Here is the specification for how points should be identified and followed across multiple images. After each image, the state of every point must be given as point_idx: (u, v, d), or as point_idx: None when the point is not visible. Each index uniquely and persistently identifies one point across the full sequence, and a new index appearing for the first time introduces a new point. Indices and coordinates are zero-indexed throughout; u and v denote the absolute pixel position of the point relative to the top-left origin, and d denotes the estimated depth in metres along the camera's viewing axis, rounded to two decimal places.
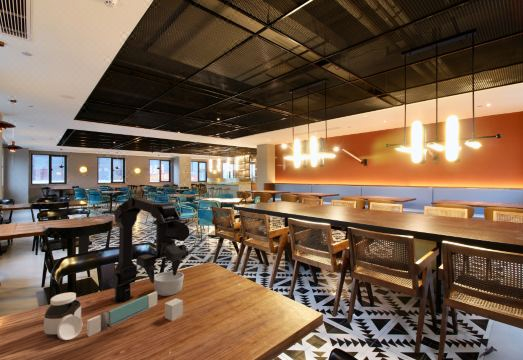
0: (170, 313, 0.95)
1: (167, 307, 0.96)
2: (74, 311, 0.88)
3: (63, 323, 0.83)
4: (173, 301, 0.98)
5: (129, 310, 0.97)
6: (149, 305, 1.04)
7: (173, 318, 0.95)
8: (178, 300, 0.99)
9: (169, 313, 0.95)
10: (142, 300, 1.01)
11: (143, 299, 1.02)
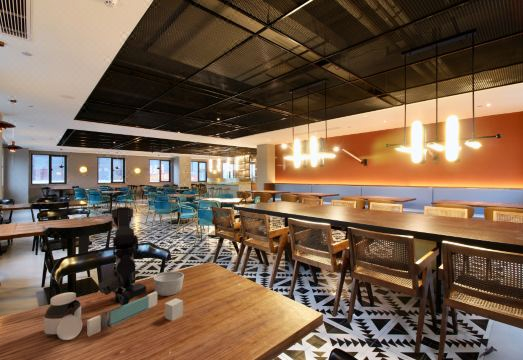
0: (170, 313, 0.95)
1: (167, 307, 0.96)
2: (74, 311, 0.88)
3: (63, 323, 0.83)
4: (173, 301, 0.98)
5: (130, 310, 0.96)
6: (149, 305, 1.04)
7: (173, 318, 0.95)
8: (178, 300, 0.99)
9: (169, 313, 0.95)
10: (143, 300, 1.01)
11: (144, 299, 1.01)
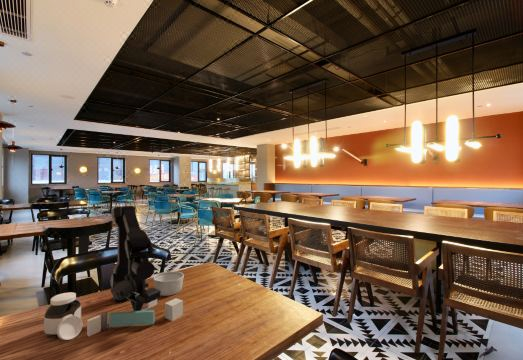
0: (170, 313, 0.95)
1: (167, 307, 0.96)
2: (74, 311, 0.88)
3: (63, 323, 0.83)
4: (173, 301, 0.98)
5: (130, 320, 0.90)
6: (149, 305, 1.04)
7: (173, 318, 0.95)
8: (178, 300, 0.99)
9: (169, 313, 0.95)
10: (146, 314, 0.91)
11: (148, 313, 0.91)
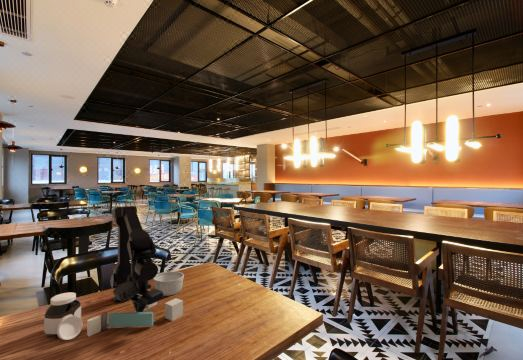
0: (170, 313, 0.95)
1: (167, 307, 0.96)
2: (74, 311, 0.88)
3: (63, 323, 0.83)
4: (173, 301, 0.98)
5: (129, 321, 0.89)
6: (149, 305, 1.04)
7: (173, 318, 0.95)
8: (178, 300, 0.99)
9: (169, 313, 0.95)
10: (145, 316, 0.90)
11: (146, 315, 0.90)
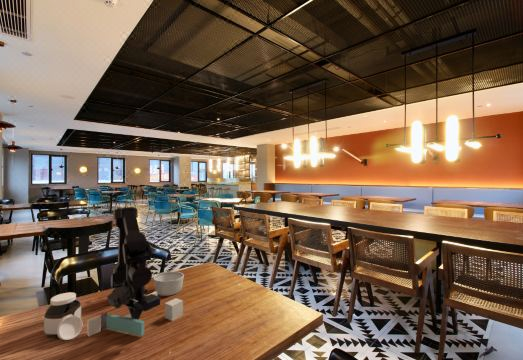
0: (170, 313, 0.95)
1: (167, 307, 0.96)
2: (74, 311, 0.88)
3: (63, 323, 0.83)
4: (173, 301, 0.98)
5: (123, 326, 0.86)
6: None
7: (173, 318, 0.95)
8: (178, 300, 0.99)
9: (169, 313, 0.95)
10: (135, 324, 0.85)
11: (137, 323, 0.85)
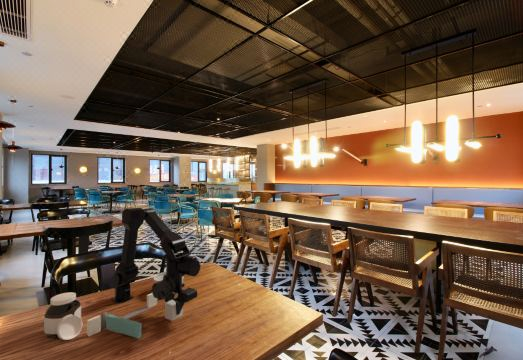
0: (170, 312, 0.95)
1: (167, 307, 0.96)
2: (74, 311, 0.88)
3: (63, 323, 0.83)
4: (173, 301, 0.98)
5: (121, 327, 0.86)
6: (149, 305, 1.04)
7: (173, 318, 0.95)
8: None
9: (169, 312, 0.95)
10: (133, 325, 0.84)
11: (134, 325, 0.83)
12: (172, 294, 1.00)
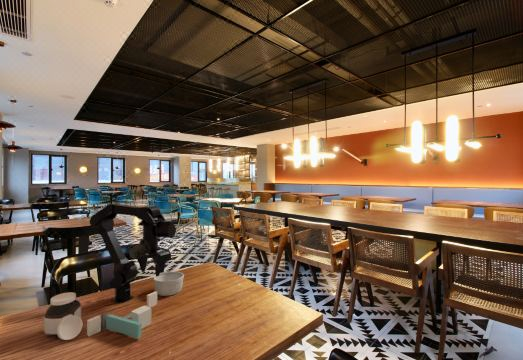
0: (136, 321, 0.89)
1: (133, 315, 0.90)
2: (74, 311, 0.88)
3: (63, 323, 0.83)
4: (140, 309, 0.92)
5: (121, 327, 0.86)
6: (149, 305, 1.04)
7: None
8: (146, 308, 0.93)
9: None
10: (133, 325, 0.84)
11: (134, 325, 0.83)
12: (145, 257, 1.12)
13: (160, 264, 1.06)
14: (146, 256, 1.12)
